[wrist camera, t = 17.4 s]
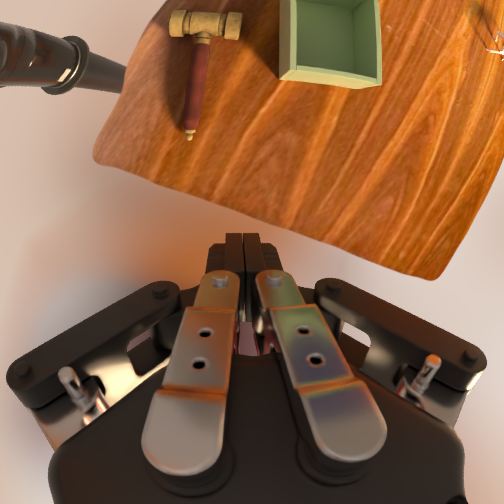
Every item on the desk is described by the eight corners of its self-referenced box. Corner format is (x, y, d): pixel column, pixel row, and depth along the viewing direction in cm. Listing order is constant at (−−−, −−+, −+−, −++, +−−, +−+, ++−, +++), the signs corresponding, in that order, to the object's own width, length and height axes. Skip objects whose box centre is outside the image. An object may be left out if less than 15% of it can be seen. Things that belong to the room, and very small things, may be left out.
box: (355, 89, 37) (381, 85, 30) (278, 79, 37) (289, 69, 29) (354, 9, 31) (377, -8, 23) (279, -4, 30) (289, -28, 22)
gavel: (221, 145, 38) (152, 140, 36) (222, 141, 42) (160, 136, 40) (243, 9, 27) (171, 6, 26) (242, 18, 31) (178, 14, 30)
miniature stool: (495, 28, 27) (509, 26, 23) (510, 58, 30) (524, 58, 26) (477, 40, 30) (492, 38, 26) (493, 72, 33) (508, 73, 29)
